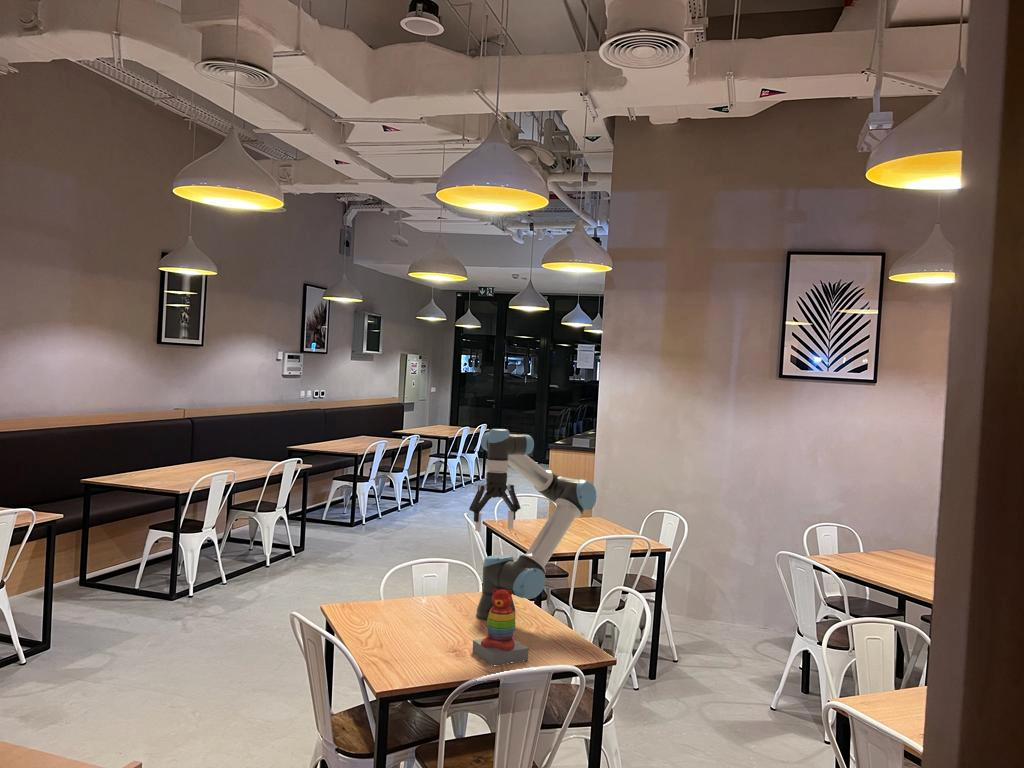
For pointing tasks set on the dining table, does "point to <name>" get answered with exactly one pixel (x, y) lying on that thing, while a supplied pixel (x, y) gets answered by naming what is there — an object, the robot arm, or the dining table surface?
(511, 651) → the grey block
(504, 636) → the stacking bear
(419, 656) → the dining table surface
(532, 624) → the dining table surface
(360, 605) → the dining table surface
